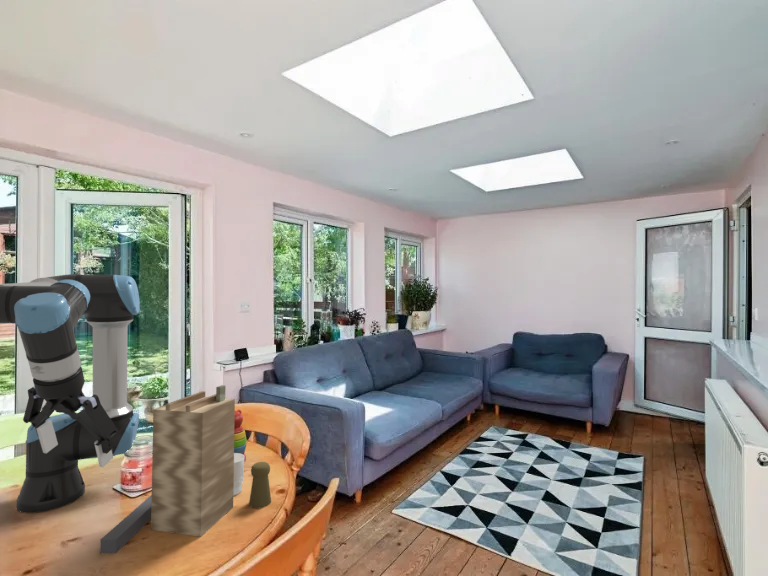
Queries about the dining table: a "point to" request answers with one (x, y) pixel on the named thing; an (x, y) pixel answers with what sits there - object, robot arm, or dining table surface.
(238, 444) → the stacking bear
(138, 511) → the bar
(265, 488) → the olive pawn
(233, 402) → the tall wooden block
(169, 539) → the dining table surface
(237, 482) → the white cup
